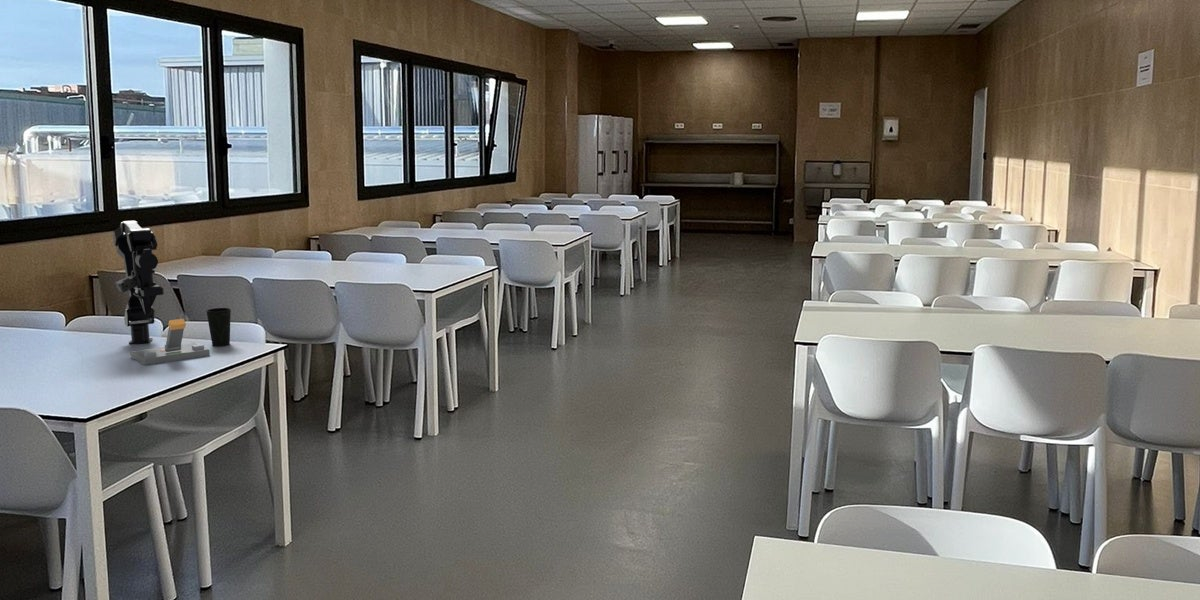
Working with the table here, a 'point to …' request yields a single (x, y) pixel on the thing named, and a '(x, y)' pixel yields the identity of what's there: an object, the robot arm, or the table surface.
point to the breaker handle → (175, 335)
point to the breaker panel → (169, 354)
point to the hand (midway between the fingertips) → (146, 314)
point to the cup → (219, 326)
